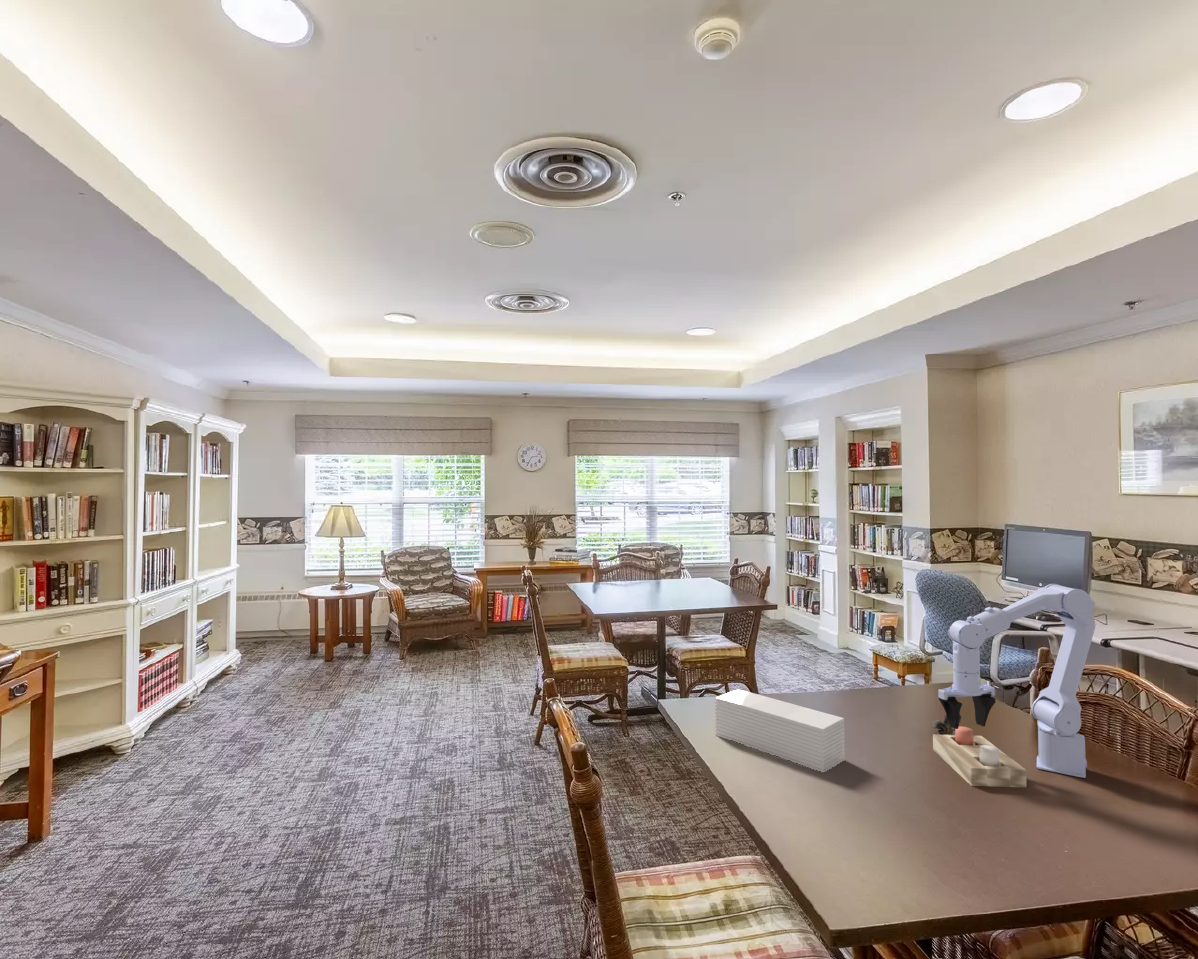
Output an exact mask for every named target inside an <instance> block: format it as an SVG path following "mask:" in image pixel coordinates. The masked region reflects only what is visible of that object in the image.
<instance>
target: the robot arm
mask: <svg viewBox="0 0 1198 959" xmlns="http://www.w3.org/2000/svg"><path fill="white" fill-rule="evenodd" d="M1095 605H1096V602H1095V601H1094V600H1093V598H1092V597H1091V596H1090V595H1089V593H1088V592H1086V591H1085V590H1082V589H1079V588H1073V587H1067V586H1064V585H1060V584H1058V583H1049V584H1047V585H1045V586H1042V587H1039V588H1037V589H1036V590H1035V591H1034V592H1032V593H1031V594H1029V595H1026V596H1025V597H1023V598H1021V599H1019V600H1017V601H1015V602H1013V603H1011V604H1010V605H1008V606H1006V607H1004V608H1002V609H1001V608H998V607H990V606H987V607H985V608H984V611H982V612H980V613H978V614H976V615H974V616H971V615H970V616H968V617H966V620H963V619H962V620H961V619H959V620H956V621H954V622H953V623H952V624H951V625H950V626H949V630H947V635H948V637H949V638H950V640H951V642H952V671H953V672H952V678H953V680H952V681H953V683H952V684H951V686H949V687H946V688H942V689H938V690H937V692H938V695H937V696H938V701H939V702H940V703H941V706H942V707H943V709H944V711H945V715H947V718H948V721H949V725H950V727H952V729H958V727H959V726H960V723H959V714H960V713H961V708H962V707H963V703H962V702H960V701H958V699H957V698H969V697H970V698H971V699H972V702H973V706H974V707H973V708H974V714H975V718H974V719H975V724H977V725H979V726H981V727H985V726H986V724H987V720H988V717H989V713H990V711H991V709H992V708H993V706H994V705H995V703H996V697H995V696H996V687H995V686H990V685H981V669H980V668H981V662H980V660H981V659H980V647H982V646H983V644H984V642H985V640H986V639H988V638H990V637H994V636H996V635H997V634H1000V633H1002V632H1004V631H1007V630H1009V629H1010V626H1011V623H1012V622H1014V621H1017V620H1020V619H1022V618H1025V617H1028V616H1029V615H1033V614H1035V613H1038V612H1041V611H1050V612H1053V613H1054V614H1056V615H1057V616H1058V617H1059V619H1060V620H1061V621H1062V623H1063V624H1064V625H1065V629H1064V632H1063V636H1062V639H1061V642H1060V646H1059V650H1058V653H1057V657H1056V660H1055V663H1054V667H1053V670H1052V673H1051V678H1050V681H1049V684H1048V686H1047V687H1045V688H1043V689H1041V690H1040V691H1039V694H1038V697H1037V698H1036V699H1035V700H1034V701H1033V703H1032V705H1031V714H1032V716H1033V717H1034V719H1035V720H1037V721H1036V722H1037V723H1036V724H1037V730H1038V731H1037V741H1038V742H1037V743H1038V745H1037V746H1038V747H1037V748H1038V751H1037V752H1038V755H1037V756H1036V768H1037V769H1038V770H1043V771H1048V772H1052V773H1059V774H1063V775H1066V776H1073V777H1077V778H1083V779H1085V778H1086V777H1087V775H1086V773H1087V772H1086V771H1087V768H1088V761H1087V759H1086V740H1085V735H1083V734H1080V733H1078V732H1079V731H1080V729H1081V728H1082V722H1083V721H1082V717H1081V712H1082V706H1081V704H1080V702H1079V699H1078V698H1077V692H1078V689H1079V686H1080V683H1081V679H1082V675H1083V672H1084V669H1085V665H1086V660H1087V658H1088V654H1089V652H1090V647H1091V644H1092V641H1093V637H1094V634H1095V630H1096V621H1095V616H1094V608H1095ZM960 715H961V714H960Z"/></svg>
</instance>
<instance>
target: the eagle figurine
mask: <svg viewBox="0 0 1198 959" xmlns="http://www.w3.org/2000/svg"><path fill="white" fill-rule="evenodd" d="M961 720H962V715H961V714H959V724H960V723H961ZM931 726H932V728H933V729H938V730H940V731H939V733H940V734H942V735H955V729H954V728H952V727H950V725H949V721H948V718H947V715H946V714H945V715H944V720H943V722H942V721H941V720H940V719H938V720H934V721H932V723H931Z"/></svg>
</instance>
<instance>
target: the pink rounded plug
mask: <svg viewBox="0 0 1198 959" xmlns="http://www.w3.org/2000/svg"><path fill="white" fill-rule="evenodd" d="M954 732H955V742H956V743H957V744H958V745H974V737H973V736H974V730H973V729H972V728H970V727H967V726H960V725H959V727H958V729H955V731H954Z"/></svg>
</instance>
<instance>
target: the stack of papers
mask: <svg viewBox="0 0 1198 959" xmlns="http://www.w3.org/2000/svg"><path fill="white" fill-rule="evenodd" d="M714 699H715V700H714V701H715V702H714V704H715V736H716V735H717V737H719V738H722V739H725V740H727V741H728V740H729V741H730V740H733V741H736V742H738V743H737V744H739V743H741V744H740V745H742V744H744V745H743V746H745V745H747V746H746V747H748V746H749V747H748V748H750V747H752V748H751V749H753V748H755V749H754V750H756V749H758V750H757V751H759V750H760V751H759V752H762V751H763V752H762V753H765V752H766V753H765V754H767V753H769V754H768V755H770V754H771V756H773V755H776V756H779V757H782V758H784V759H783V760H785V759H787V760H790V761H792V762H791V763H793V762H795V763H794V764H796V763H798V764H797V765H799V764H801V765H800V766H802V765H803V766H802V767H805V766H806V767H805V768H807V767H809V768H808V769H810V768H811V770H813V769H814V771H816V770H819V771H821V772H820V773H822V772H825V771H826V770H828V771H829V769H830V770H831V769H833V768H834V767H836V766H838V765H840V764H841V763H842V761H843V760H844V761H845V760H846V757H845V756H846V752H845V748H846V747H845V746H846V745H845V740H846V738H845V734H846V733H845V718H844V717H841V716H838V715H835V714H830V713H827V712H823V711H819V710H816V709H812V708H810V707H809V708H808V707H804V706H801V705H798V704H795V703H791V702H787V701H783V700H779V699H776V698H773V697H768V696H765V695H761V694H758V693H755V692H751V691H746V690H743V689H739V688H737V689H734V690H731V691H729V692H727V693H726V692H725V693H723V694H721V695H718V696H716V697H715V698H714ZM733 741H732V742H733ZM736 742H735V743H736ZM776 756H775V757H776ZM779 757H778V758H779ZM782 758H781V759H782ZM787 760H786V761H787ZM790 761H789V762H790ZM844 761H843V762H844ZM840 762H841V763H840ZM837 764H838V765H837ZM832 767H833V768H832ZM819 771H818V772H819ZM826 772H827V771H826ZM826 772H825V773H826Z"/></svg>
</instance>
